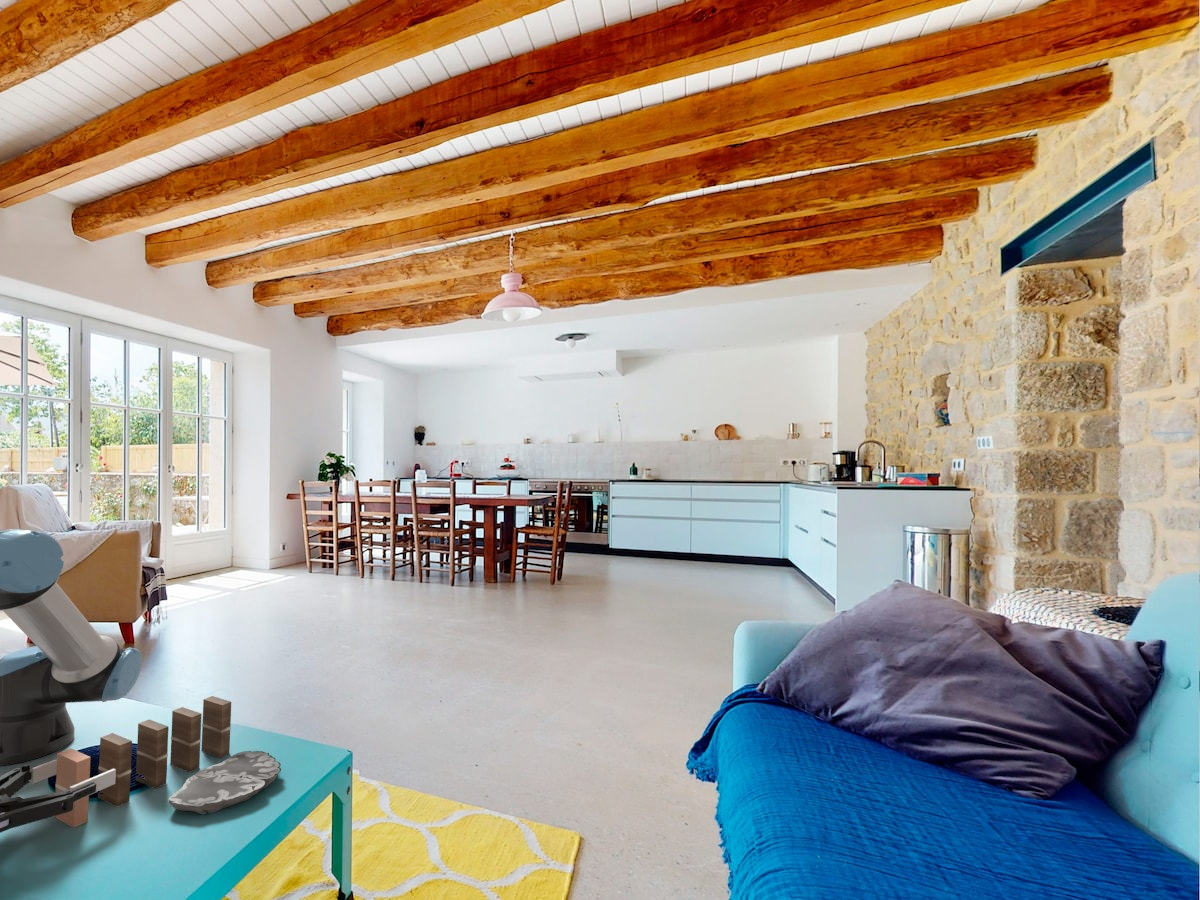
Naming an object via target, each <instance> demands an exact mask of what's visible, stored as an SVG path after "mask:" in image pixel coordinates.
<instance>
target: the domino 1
mask: <svg viewBox="0 0 1200 900" xmlns="http://www.w3.org/2000/svg"><path fill="white" fill-rule="evenodd" d="M56 756H57V757H56V759H57V774H56V775H55V776H56V778H55V793H56V792H62V791H67V790H69V788H70V787H71V786H73V785H76V784H78V783H80V782H83V781H85V780H87V779H90V778H91V777H90V776H91V756H90V755H87V754H85V753H83V752H80V751H78V750H76V749H73V748H69V749H66V750H65V749H64V750H63V751H60V752H57V754H56ZM89 799H90V795H89V796H87V797H84V798H82V799H80V800H77V801H75V802H74V803H73V810H72V811H70V812H67V813H63V814H60V815H56V816H54V818H55V819H57V820H59V821H61V822H63V823H65V824H66V825H69V826H70V827H72V828H76V827H78V826H81V825H82V824H85V823H87V822H88V821H89V819H88V818H89V802H90V801H89Z"/></svg>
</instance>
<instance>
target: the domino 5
mask: <svg viewBox="0 0 1200 900" xmlns="http://www.w3.org/2000/svg"><path fill="white" fill-rule="evenodd" d="M202 702H203V706H202V723H201V747H200V752H204V753H207V754H209V755H211V756H215V757H217V758H219V759H221V758H223V757H226V756H228V755H230V748H231V747H230V745H231V728H232V726H231V721H232V720H231V719H232V701H230V700H228V699H227V700H226V699H223V698H221V697H218V696H213V695H211V696H209V697H206V698H204V699H203V701H202Z"/></svg>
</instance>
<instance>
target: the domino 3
mask: <svg viewBox="0 0 1200 900" xmlns="http://www.w3.org/2000/svg"><path fill="white" fill-rule="evenodd" d="M136 742H137V746H136V764H135V765H136V766H135V768H136V769H135V774H136V773H137V774H139V775H142V776H143V777H145V778H146V779H147V780H146V779H143V778H141V777H139V776H136V775H135V781H136V782H139V783H141V784H143V785H146V786H148V787H150V788H153V789H155V790H156V789H158V788H160V787H164V785H166V784H167V774H168V773H167V772H168V771H167V770H168V769H167V768H168V757H169V753H168V747H169V746H168V745H169V726H168V725H165V724H163V723H160V722H157V721H154V720H152V719H146V720H144V721H141V722H139V723H137V741H136Z"/></svg>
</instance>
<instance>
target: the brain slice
mask: <svg viewBox="0 0 1200 900" xmlns="http://www.w3.org/2000/svg"><path fill="white" fill-rule="evenodd" d="M281 771H282V768H281V762H280V761H278V760H277V759H276V758H275V756H273V755H270V753H269V752H264V751H262V750H253V751H252V750H244V751H240V752H237V753H235V754H233V755H231V756H229V757H228V758H226V759H225V760H224V761H221V762H219V763H216V764H213V765H211V766H209V767H205V768H203V769H200V770H198V771H197V772H196V773H195V774H193V775H191V776H190V777H188V778H187V779H186V780H185V782H184V783H183V784H182V787H181V788H180V789H179V790H177V791H175V792H174V793H173V794H172V795H171V796H170V797H169V798H168V803H169V804H170V806H171V807H172V808H173V809H175V810H178V811H184V812H189V811H190V812H193V813H194V812H195V813H198V814H200V815H206V814H207V813H208V814H213V813H216V812H220V811H221V810H222V809H225V808H228V807H232V806H235V805H237V804H240V803H241V802H242V803H243V802H246V801H248V800H250V799H251V798H252V797H254V796H255V795H257V794H258V792H260V791H262V790H263V789H266V788H267V787H268V786H269V785H270V784H271V783H273V782H274V781H275V780H276V778H277V776H278V775H280V773H281Z"/></svg>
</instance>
